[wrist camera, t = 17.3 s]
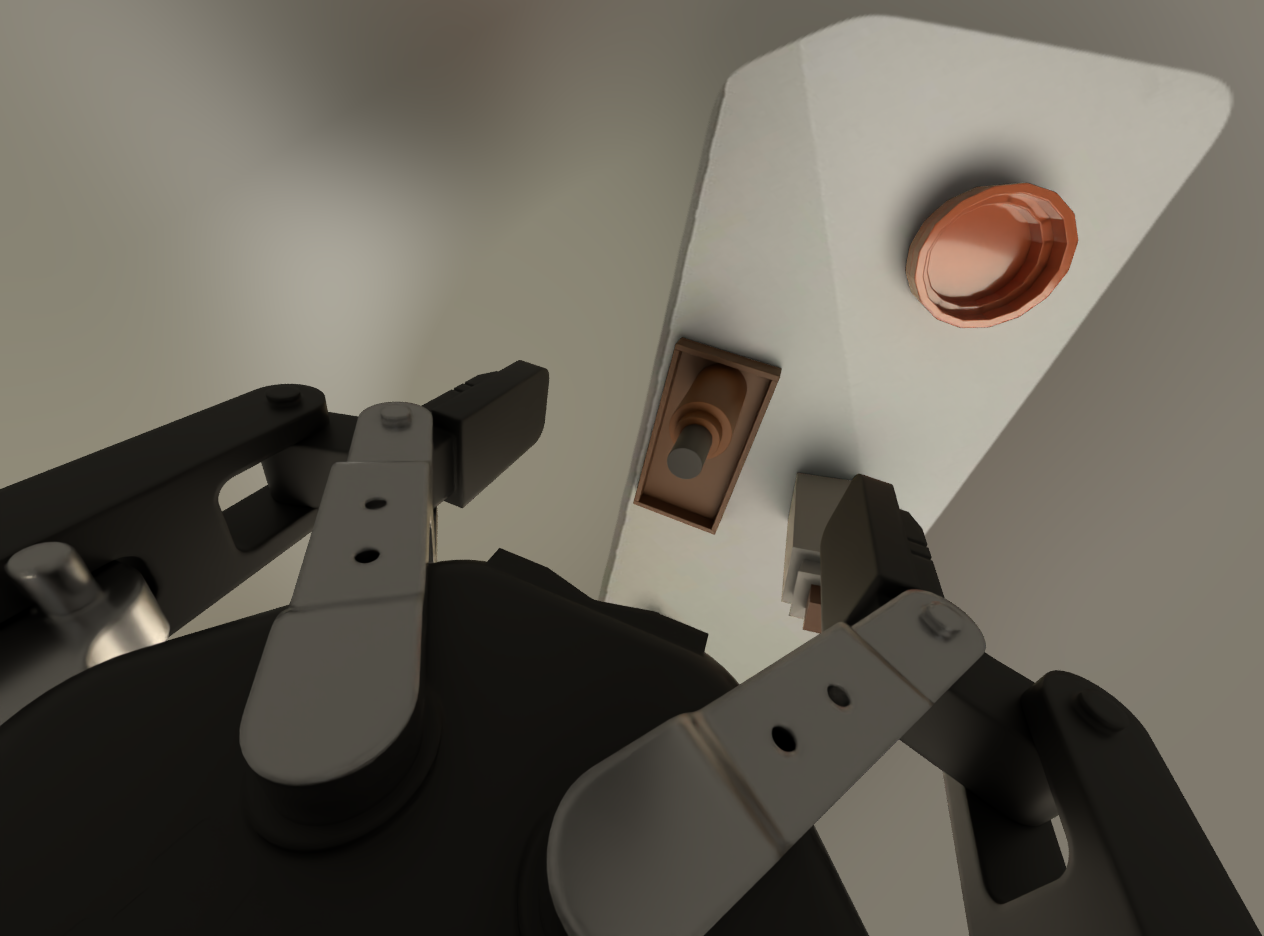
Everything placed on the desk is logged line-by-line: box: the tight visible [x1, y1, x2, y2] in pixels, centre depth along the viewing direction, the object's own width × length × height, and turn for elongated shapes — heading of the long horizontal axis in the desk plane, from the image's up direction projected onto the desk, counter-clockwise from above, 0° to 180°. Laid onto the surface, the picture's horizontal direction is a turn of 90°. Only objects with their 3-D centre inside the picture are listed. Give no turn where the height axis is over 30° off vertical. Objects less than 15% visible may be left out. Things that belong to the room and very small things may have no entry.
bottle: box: [667, 363, 747, 479], centre depth 43 cm, size 6×6×17 cm
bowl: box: [905, 183, 1078, 328], centre depth 36 cm, size 10×10×5 cm
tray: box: [633, 337, 781, 535], centre depth 53 cm, size 21×11×3 cm, turn 168°
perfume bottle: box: [781, 473, 851, 633], centre depth 46 cm, size 7×7×18 cm
